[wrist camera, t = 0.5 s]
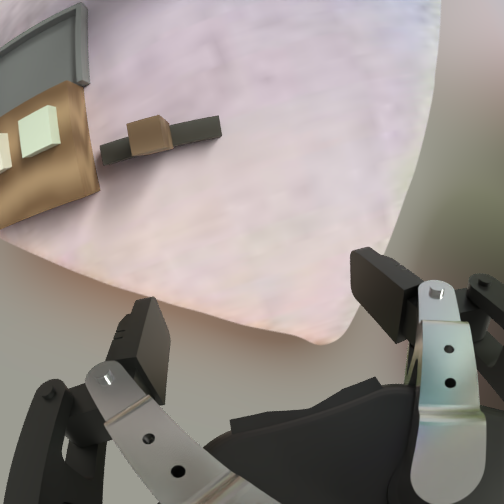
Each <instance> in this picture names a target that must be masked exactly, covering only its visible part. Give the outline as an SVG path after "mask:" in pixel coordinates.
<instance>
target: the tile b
mask: <svg viewBox="0 0 504 504" xmlns="http://www.w3.org/2000/svg"><path fill="white" fill-rule="evenodd" d="M18 126H19V136H20V144H21V151H22V158H27V157H33V156H35V155H37V154H39V153H41V152H43V151H45V150H47V149H49V148H52V147H54V146H56V145H58V144H61V142H60V136H59V129H58V121H57V112H56V107H54V106H50V105H47V106H45V107H43V108H41V109H39V110H37V111H35V112H33V113H31V114H30V115H28V116H26V117H24V118H22V119H21V120H19V121H18Z"/></svg>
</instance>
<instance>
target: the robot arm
mask: <svg viewBox="0 0 504 504" xmlns="http://www.w3.org/2000/svg"><path fill="white" fill-rule="evenodd" d="M350 272H351V290H352V293H353V295H354V297H355V299H356V300H357V301H358V302H359V303H360V304H361V305H362V306H363V307H364V308H365V310H366V311H368V313H369V314H370V315H371V316H372V317H373V318H374V320H375V321H376V322H377V323H378V324H379V325H380V326H381V327H382V329H383V330H384V331H385V332H386V333H387V334H388V335H389V337H390V338H391V339H392V340H393V341H394V342H395V344H397V343H400V342H402V341H404V340H406V339H407V340H408V341H409V344H408V349H407V359H406V360H407V361H406V369H405V377H404V384H388V385H381V384H380V383H379V382H378V380H377V379H376V377H373V378H371V379H368V380H365V381H363V382H360V383H358V384H355V385H352V386H350V387H347V388H344V389H342V390H341V391H339V392H337V393H336V394H334V395H332V396H331V397H329V398H327V399H326V400H324V401H322V402H321V403H319V404H317V405H315V406H314V407H312V408H309V409H303V410H290V411H272V412H264V413H260V414H255V415H251V416H246V417H241V418H237V419H231V420H230V425H231V431H228V432H226V433H224V434H222V435H220V436H218V437H216V438H215V439H214V440H212V441H210V442H209V443H208V444H207V445H206V446H204V447H203V448H202V447H201V446H200V445H199V444H198V443H197V442H196V441H195V440H194V439H193V438H191V437H190V436H189V435H188V434H187V433H186V432H185V431H184V430H183V429H182V428H181V427H180V426H179V425H177V423H176V422H175V421H174V420H173V419H172V418H171V417H170V416H169V415H168V414H167V413H166V412H165V411H164V410H163V409H162V408H161V407H160V406H159V405H165V396H166V383H167V372H168V362H169V351H170V334H169V330H168V328H167V325H166V323H165V320H164V318H163V315H162V313H161V310H160V308H159V305H158V303H157V300H156V298H155V297H149V298H144V299H139V300H136V301H135V303H134V306H133V309H132V312H131V314H127V315H126V316H125V317H124V318H123V319H122V320H121V321H120V323H119V325H118V327H117V330H116V333H115V336H114V340H113V341H112V344H111V346H110V349H109V352H108V355H107V357H106V361H105V362H102V363H99V364H98V365H96V366H94V367H93V368H92V369H91V370H90V371H89V372H88V374H87V376H86V379H85V383H84V384H81V385H79V386H75V387H72V388H69V389H68V388H67V387H66V385H65V384H64V383H63V381H61V380H59V379H52V380H49V381H47V382H45V383H43V384H42V385H41V386H40V387H39V388H38V389H37V391H36V393H35V395H34V398H33V400H32V403H31V405H30V408H29V411H28V413H27V416H26V419H25V422H24V425H23V428H22V431H21V434H20V437H19V440H18V443H17V447H16V450H15V454H14V457H13V461H12V465H11V469H10V473H9V477H8V482H7V487H6V492H5V498H4V504H102V499H103V497H102V496H103V479H104V465H105V455H106V445H107V441H109V440H113V441H114V442H115V444H116V445H117V447H118V448H119V450H120V451H121V453H122V454H123V456H124V457H125V459H126V460H127V462H128V463H129V464H130V466H131V467H132V469H133V470H134V471H135V473H136V474H137V475H138V476H139V478H140V479H141V480H142V481H143V483H144V484H145V485H146V487H147V488H148V489H149V490H150V492H151V493H152V494H153V495H154V496H155V498H156V499H157V500H158V501H159V503H158V504H504V411H503V410H499V409H494V408H490V407H486V406H482V405H480V404H479V388H478V377H477V370H478V371H479V372H480V373H481V375H482V376H483V377H484V378H485V379H486V380H487V382H488V383H489V384H490V385H491V386H492V388H493V389H494V390H495V391H496V393H497V394H498V395H499V396H500V398H501V399H502V400H503V401H504V346H502V345H501V344H500V343H499V342H498V341H497V340H496V339H495V338H494V337H493V336H492V335H491V334H490V333H489V332H488V331H487V328H488V325H489V323H490V319H491V318H492V319H494V321H495V322H497V323H498V324H499V325H500V326H501V327H502V328H503V329H504V284H502V283H501V282H499V281H498V280H497V279H495V278H494V277H492V276H490V275H487V274H474V275H472V276H471V277H470V278H469V281H468V286H467V288H464V289H458V290H454V289H453V287H452V286H451V285H449V284H447V283H446V282H442V281H439V280H429V281H425V282H424V281H423V280H422V279H420V278H419V277H418V276H416V275H415V274H414V273H412V272H411V271H409V270H408V269H406V268H405V267H404V266H402V265H400V264H399V263H398V262H397V261H395V260H394V259H392V258H389V257H387V256H384V255H380V254H379V253H377V252H376V251H374V250H373V249H372V248H370V247H365V248H361V249H357V250H353V251H352V252H351V254H350ZM64 436H66V437H67V438H68V439H69V444H68V449H67V454H66V460H65V461H64V459H63V457H62V445H63V441H64Z"/></svg>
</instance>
